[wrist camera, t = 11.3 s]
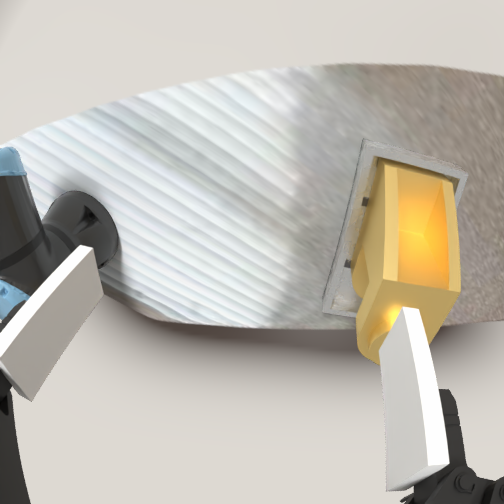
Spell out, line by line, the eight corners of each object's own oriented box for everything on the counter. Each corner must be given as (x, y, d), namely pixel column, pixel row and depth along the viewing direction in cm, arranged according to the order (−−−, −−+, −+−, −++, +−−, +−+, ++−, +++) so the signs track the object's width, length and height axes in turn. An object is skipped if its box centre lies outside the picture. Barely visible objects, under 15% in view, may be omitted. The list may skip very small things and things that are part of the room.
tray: (322, 297, 51) (322, 312, 48) (362, 138, 36) (367, 145, 33) (400, 309, 50) (404, 324, 47) (458, 164, 35) (468, 173, 32)
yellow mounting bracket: (398, 292, 46) (416, 375, 33) (343, 283, 47) (347, 369, 34) (443, 173, 35) (498, 236, 22) (379, 156, 36) (413, 214, 23)
